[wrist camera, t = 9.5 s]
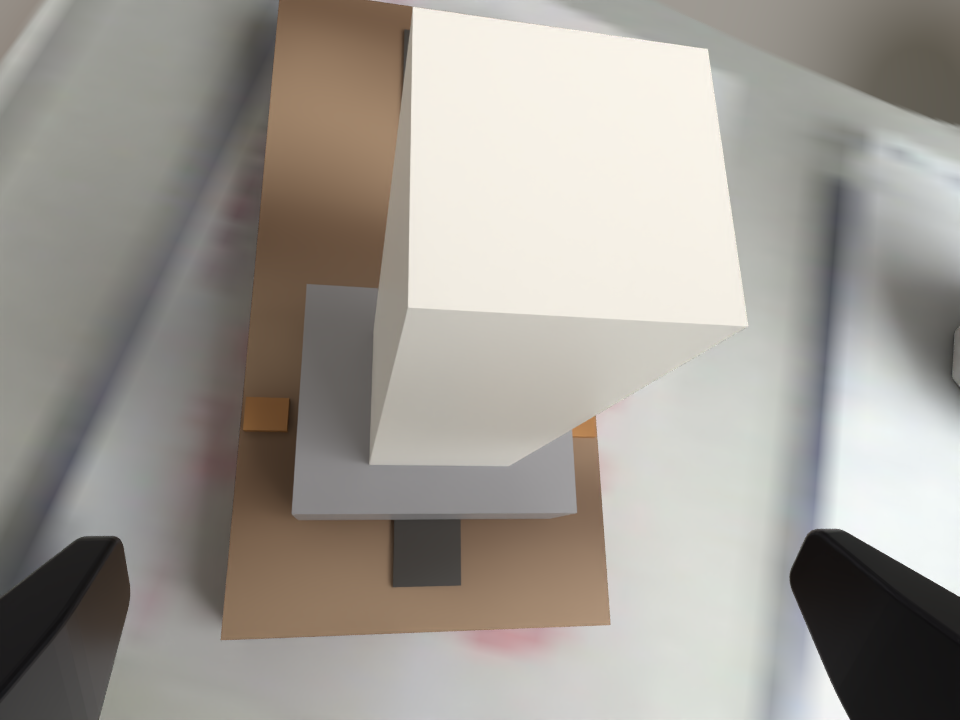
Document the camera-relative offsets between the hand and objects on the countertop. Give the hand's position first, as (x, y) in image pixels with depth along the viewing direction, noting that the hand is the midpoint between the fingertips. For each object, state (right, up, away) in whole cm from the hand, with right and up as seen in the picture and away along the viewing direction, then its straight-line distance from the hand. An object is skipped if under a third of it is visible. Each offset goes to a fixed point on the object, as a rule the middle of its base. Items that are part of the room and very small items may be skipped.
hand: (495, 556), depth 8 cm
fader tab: (-1, +1, +8) cm, 8 cm away
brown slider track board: (-2, +4, +11) cm, 12 cm away
